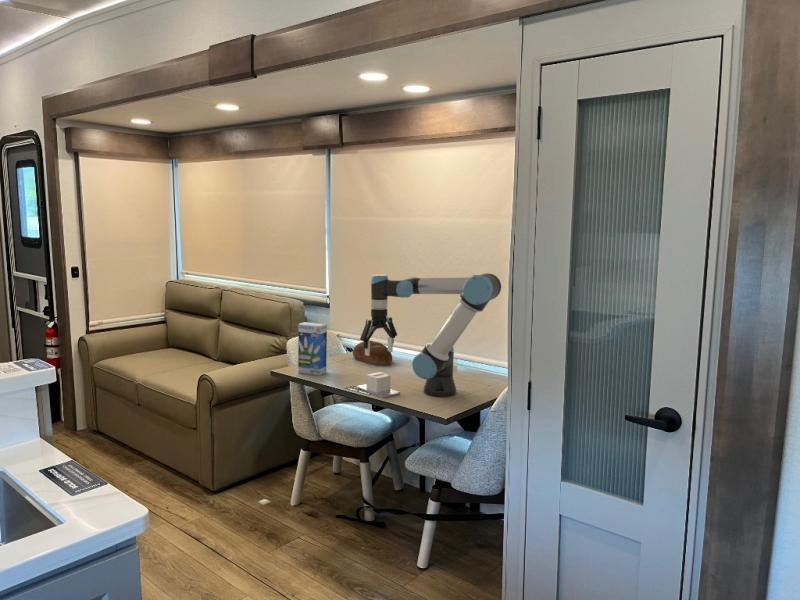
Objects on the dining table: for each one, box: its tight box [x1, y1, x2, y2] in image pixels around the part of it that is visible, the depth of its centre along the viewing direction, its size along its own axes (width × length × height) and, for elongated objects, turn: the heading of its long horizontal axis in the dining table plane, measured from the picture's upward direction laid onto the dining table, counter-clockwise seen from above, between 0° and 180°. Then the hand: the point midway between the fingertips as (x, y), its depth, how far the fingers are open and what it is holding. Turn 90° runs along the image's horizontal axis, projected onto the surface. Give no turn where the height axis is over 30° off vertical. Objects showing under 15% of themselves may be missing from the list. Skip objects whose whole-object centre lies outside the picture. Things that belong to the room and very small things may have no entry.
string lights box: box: [297, 321, 328, 376], centre depth 311 cm, size 13×8×26 cm, turn 69°
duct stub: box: [356, 383, 401, 399], centre depth 281 cm, size 20×10×6 cm, turn 41°
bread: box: [352, 340, 393, 366], centre depth 340 cm, size 16×29×11 cm, turn 40°
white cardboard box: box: [365, 371, 391, 392], centre depth 281 cm, size 8×8×7 cm
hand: (378, 353), depth 279 cm, fingers open, 13 cm apart
